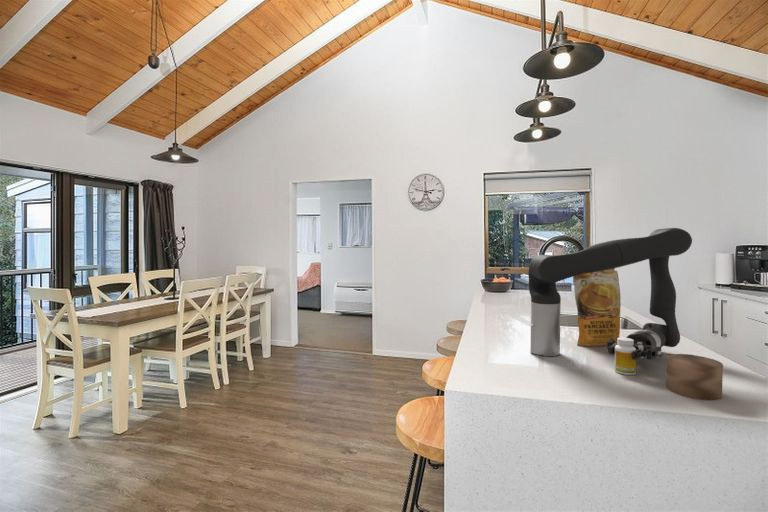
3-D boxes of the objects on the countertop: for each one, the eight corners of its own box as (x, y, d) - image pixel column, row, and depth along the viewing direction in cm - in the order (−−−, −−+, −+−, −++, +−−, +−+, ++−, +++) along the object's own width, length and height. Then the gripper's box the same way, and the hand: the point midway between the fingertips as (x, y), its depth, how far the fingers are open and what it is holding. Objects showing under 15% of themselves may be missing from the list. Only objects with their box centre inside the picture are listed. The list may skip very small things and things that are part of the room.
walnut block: (674, 396, 95) (675, 364, 94) (660, 381, 105) (661, 352, 105) (730, 403, 91) (731, 369, 90) (710, 386, 101) (711, 356, 101)
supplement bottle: (639, 376, 109) (640, 341, 108) (618, 374, 110) (619, 341, 109) (631, 369, 114) (631, 337, 113) (611, 368, 115) (611, 336, 115)
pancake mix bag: (566, 342, 144) (567, 267, 143) (615, 340, 146) (616, 266, 145) (577, 347, 138) (578, 268, 136) (627, 345, 139) (629, 268, 138)
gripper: (617, 327, 126) (595, 335, 115) (671, 335, 115) (651, 345, 104) (617, 349, 126) (594, 360, 116) (670, 360, 115) (650, 373, 104)
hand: (621, 353), depth 110 cm, fingers closed on supplement bottle, 5 cm apart
